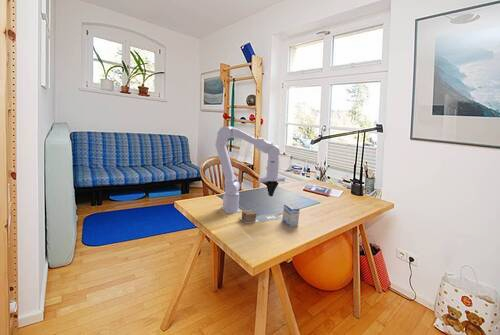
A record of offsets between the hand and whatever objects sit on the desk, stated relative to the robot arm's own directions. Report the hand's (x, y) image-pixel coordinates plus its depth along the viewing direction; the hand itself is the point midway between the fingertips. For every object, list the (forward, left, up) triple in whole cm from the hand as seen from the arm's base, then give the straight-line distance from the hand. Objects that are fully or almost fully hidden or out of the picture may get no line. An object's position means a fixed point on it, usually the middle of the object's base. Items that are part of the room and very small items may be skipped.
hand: (270, 195), depth 139 cm
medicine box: (+13, +4, -11) cm, 17 cm away
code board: (+3, -7, -10) cm, 13 cm away
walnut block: (+3, -14, -10) cm, 17 cm away
